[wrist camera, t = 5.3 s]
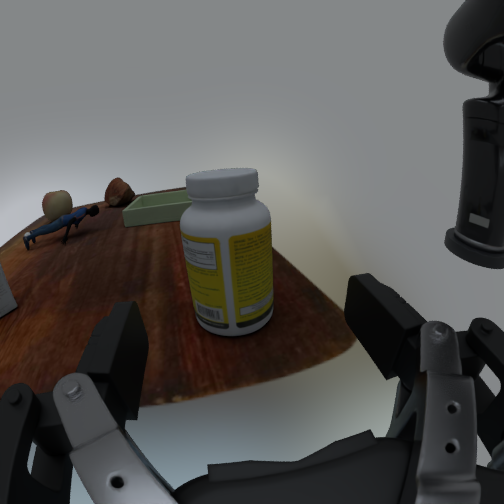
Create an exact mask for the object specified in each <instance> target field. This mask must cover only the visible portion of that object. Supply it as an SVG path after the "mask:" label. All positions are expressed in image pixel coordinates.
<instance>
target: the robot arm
mask: <svg viewBox="0 0 504 504" xmlns="http://www.w3.org/2000/svg"><path fill="white" fill-rule="evenodd" d="M443 45H444V52H445V56H446V58H447V60H448V62H449V63H450V65H451V66H452V67H453V68H454V69H455V70H457V71H458V72H460V73H462V74H464V75H467V76H469V77H473V78H476V79H480V80H483V81H486V82H489V95H488V96H486V97H482V98H473V99H468V100H466V101H465V102H464V103H463V139H464V140H463V167H462V180H461V191H460V200H459V208H458V215H457V221H456V226H455V229H454V236H455V237H456V238H457V239H458V240H459V241H461V242H462V243H464V244H466V245H468V246H470V247H472V248H475V249H477V250H480V251H484V252H488V253H495V254H500V253H503V252H504V0H466V1H465V2H464V3H463V4H462V5H461V7H460V8H459V9H458V10H457V11H456V13H455V14H454V15H453V16H452V18H451V19H450V21H449V23H448V25H447V27H446V29H445V34H444V41H443ZM344 315H345V320H346V322H347V324H348V326H349V327H350V329H351V330H352V331H353V333H354V334H355V336H356V337H357V338H358V340H359V341H360V343H361V344H362V346H363V347H364V348H365V350H366V351H367V353H368V354H369V355H370V357H371V358H372V360H373V361H374V363H375V364H376V366H377V367H378V369H379V370H380V372H381V373H382V375H383V376H384V377H385V379H386V380H388V379H390V378H393V377H396V376H398V377H399V378H400V381H399V383H398V386H397V392H396V398H395V404H394V410H393V415H392V420H391V424H390V428H389V430H388V432H387V434H386V437H378V438H375V437H374V435H373V433H372V431H371V430H367V431H364V432H362V433H359V434H356V435H353V436H350V437H347V438H344V439H342V440H338V441H335V442H333V443H331V444H330V445H328V446H326V447H324V448H323V449H320V450H319V451H317V452H315V453H313V454H311V455H309V456H307V457H305V458H303V459H301V460H299V461H293V462H274V461H253V460H249V461H242V462H233V463H222V464H208V465H207V466H208V474H206V475H203V476H200V477H197V478H195V479H192V480H190V481H188V482H186V483H184V484H183V485H181V486H180V487H178V488H177V489H176V490H174V489H173V488H172V487H171V486H170V484H169V483H167V481H166V480H165V479H164V478H163V477H162V476H161V475H160V474H159V473H158V471H157V470H156V469H155V468H154V467H153V466H152V464H151V463H150V462H149V461H148V459H147V458H146V457H145V456H144V454H143V453H142V452H141V450H140V449H139V448H138V446H137V445H136V444H135V442H134V441H133V440H132V438H131V437H130V435H129V434H128V432H127V431H126V430H125V422H126V420H137V418H138V410H139V403H140V396H141V390H142V384H143V378H144V372H145V366H146V361H147V356H148V350H149V343H148V336H147V333H146V330H145V327H144V324H143V320H142V317H141V314H140V311H139V308H138V305H137V303H136V302H135V301H130V302H117V303H115V304H114V307H113V309H112V311H111V313H110V315H109V316H106V317H104V318H103V319H102V320H101V321H100V322H99V323H98V324H97V325H96V326H95V328H94V330H93V332H92V335H91V336H92V337H90V339H89V341H88V345H87V346H86V348H85V350H84V353H83V355H82V357H81V360H80V362H79V365H78V367H77V369H76V372H75V373H72V374H69V375H66V376H65V377H63V378H62V379H60V380H59V381H58V383H57V384H56V386H55V387H54V390H53V392H47V393H42V394H36V395H35V394H34V392H33V391H32V390H31V388H30V387H29V386H28V385H26V384H24V383H18V384H14V385H12V386H11V387H9V388H8V389H7V390H6V391H5V393H4V394H3V396H2V398H1V401H0V504H70V490H71V478H72V470H73V466H74V468H75V469H76V471H77V474H78V475H79V477H80V479H81V481H82V483H83V485H84V486H85V488H86V490H87V492H88V494H89V495H90V497H91V499H92V500H93V502H94V503H95V504H504V332H503V331H502V330H501V329H500V328H499V327H498V326H497V325H496V324H495V323H494V322H492V321H491V320H489V319H486V318H475V319H473V320H472V322H471V324H470V327H469V329H468V331H460V332H455V331H454V329H453V328H452V327H450V326H449V325H447V324H445V323H443V322H439V321H429V322H427V321H426V320H425V319H424V318H423V317H422V316H421V315H420V314H419V313H418V312H417V311H416V310H415V309H414V308H413V307H411V306H410V305H409V304H408V303H406V301H405V300H404V299H403V298H402V297H400V295H399V294H397V292H395V291H394V290H393V289H392V288H390V287H388V286H386V285H384V284H382V283H380V282H379V281H377V280H376V279H375V278H374V277H373V276H372V275H371V274H369V273H366V274H360V275H354V276H351V277H350V278H349V281H348V288H347V296H346V302H345V308H344ZM485 364H487V365H488V367H489V368H490V369H491V370H492V371H493V372H494V374H495V375H496V376H497V377H498V378H499V380H500V383H501V389H500V392H499V393H498V395H497V396H496V397H495V395H494V394H493V393H492V392H491V390H490V389H489V387H488V386H487V385H486V384H485V382H484V381H483V380H482V379H481V377H480V376H479V374H480V372H481V371H482V369H483V367H484V366H485ZM477 434H478V436H479V437H480V439H481V441H482V442H483V444H484V445H485V447H486V449H487V451H488V452H489V454H490V456H491V458H492V460H491V461H490V462H489V463H488V465H487V467H484V466H480V465H477V464H476V457H477ZM32 442H34V443H35V444H36V445H37V447H36V451H35V456H34V460H33V466H32V471H31V475H30V473H29V471H28V468H27V462H28V456H29V452H30V448H31V444H32Z"/></svg>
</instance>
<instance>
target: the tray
mask: <svg viewBox="0 0 504 504" xmlns="http://www.w3.org/2000/svg"><path fill="white" fill-rule="evenodd" d="M191 205H192V200H191V199H189V198H188V194H187V190H182V191H174V192H166V193H158V194H151V195H144V196H139V197H138V198H137V199H136V200H134V201H133V202H132V203H131V204H130V205H129V206H128V207H126V208H125V209H124V210H123V211H122V212H123V218H124V223H125V227H131V226H139V225H146V224H154V223H162V222H170V221H179V220H181V217H182V215H183V213H184V212H185V210H186V209H188V208H189V207H190V206H191Z"/></svg>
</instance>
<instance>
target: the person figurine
mask: <svg viewBox="0 0 504 504" xmlns="http://www.w3.org/2000/svg"><path fill="white" fill-rule="evenodd" d="M98 213H99V208H98V206H97V205H94V206H92V207H91V208H90V209H87V208H85V207H83V208H80V209H78V210H77V211H76V212H74V213H72V214H69V215H62V216H61V217H60V218H59V219H57V220H55V221H54V222H52V223H51V224H48V225H44V226H41V227H40V228H38V229H35V230H32V231H30V233H26V234H25V236H24V237H23V240H24V244H25V247H26V248H27V250H29V241H30V240H31V239H32V242H33V243H35V242H36V240H35V237H37V236H39V235H45V234H49V233H53V232H55V231H58V230H59V229H61V228H63V227H65V226H67V229H66V234H65V236H64V238H63V240H62V241H63V242H64V243H65V244H66V240H67V235H68V232H69V230H70V228H71V225H72V224H75V227H77V228H78V224H79V223H80V222H81V220H82V219H83V218H84V217H85V216H86V215H87V214H90V216H91V217H93V216H95V215H97V214H98ZM62 241H61V242H62ZM63 242H62V243H63ZM64 243H63V245H64Z"/></svg>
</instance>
